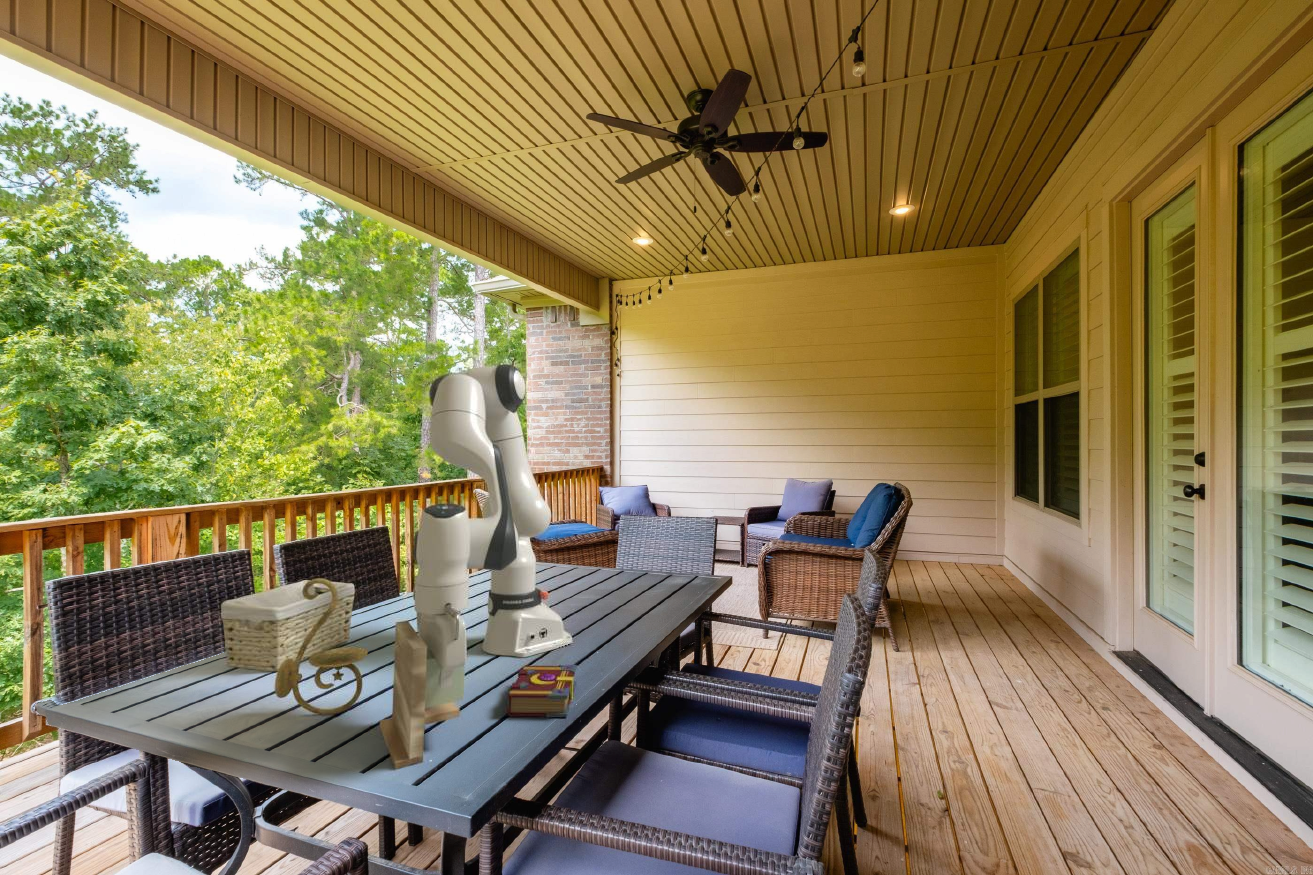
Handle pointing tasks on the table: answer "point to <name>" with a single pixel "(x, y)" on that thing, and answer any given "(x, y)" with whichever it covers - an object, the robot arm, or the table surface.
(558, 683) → the decorative book
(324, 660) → the wall sconce
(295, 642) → the storage basket
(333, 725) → the table surface
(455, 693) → the sage cabinet
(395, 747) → the wall board
